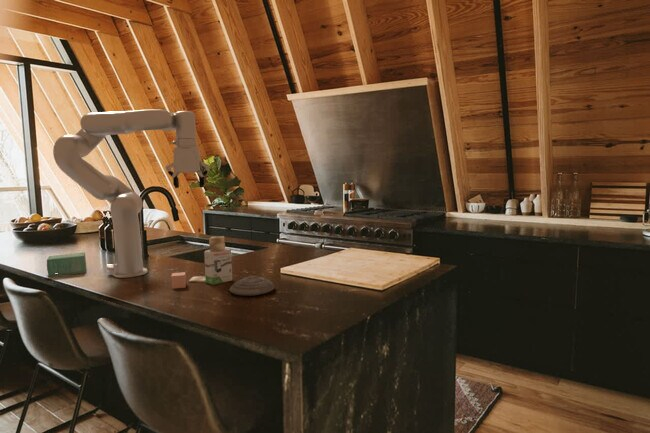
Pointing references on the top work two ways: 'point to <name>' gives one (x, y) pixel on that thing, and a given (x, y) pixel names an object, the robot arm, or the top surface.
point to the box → (66, 264)
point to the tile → (198, 279)
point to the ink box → (218, 266)
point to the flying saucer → (252, 286)
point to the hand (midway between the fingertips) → (189, 187)
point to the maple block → (217, 243)
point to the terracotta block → (178, 280)
